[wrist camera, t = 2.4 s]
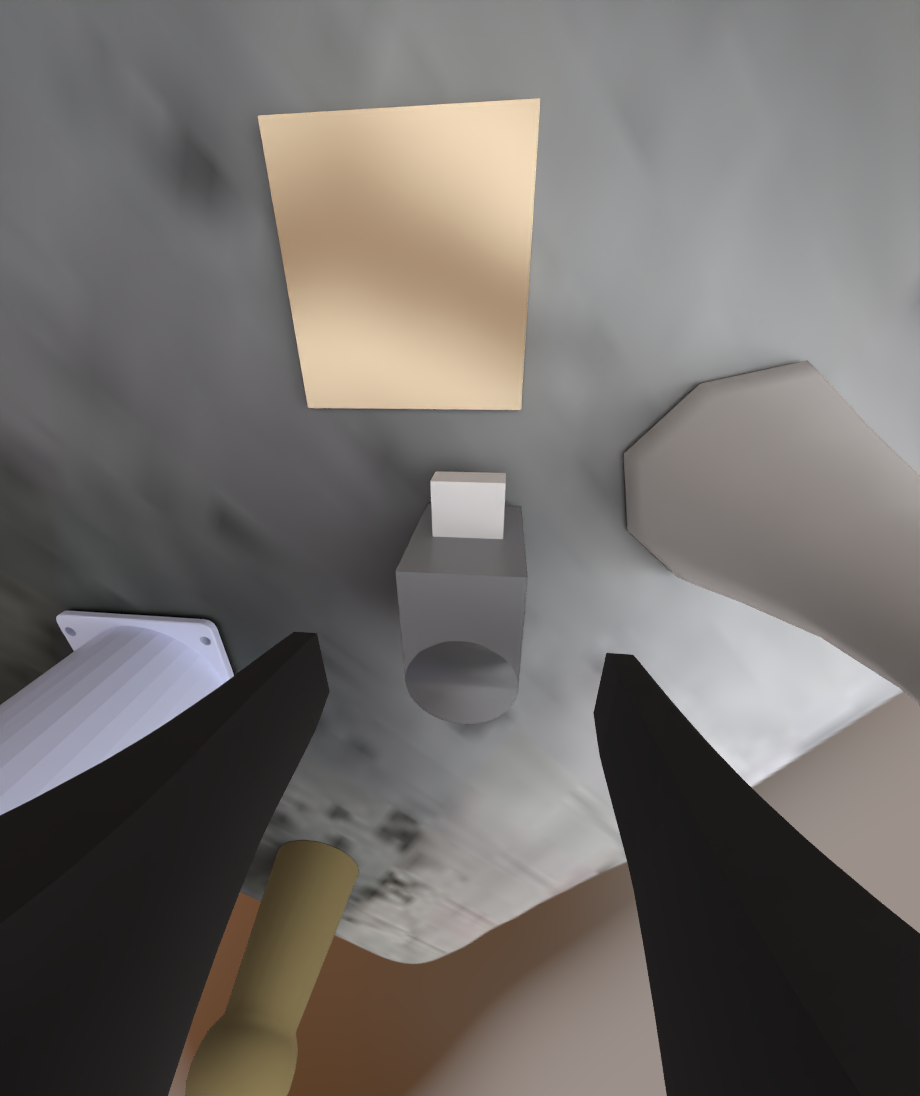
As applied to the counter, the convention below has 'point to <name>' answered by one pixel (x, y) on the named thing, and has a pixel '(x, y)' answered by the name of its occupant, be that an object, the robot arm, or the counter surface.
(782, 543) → the flask
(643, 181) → the counter surface
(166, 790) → the robot arm
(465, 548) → the plug
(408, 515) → the counter surface
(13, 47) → the counter surface
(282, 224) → the coaster
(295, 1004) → the pepper shaker
